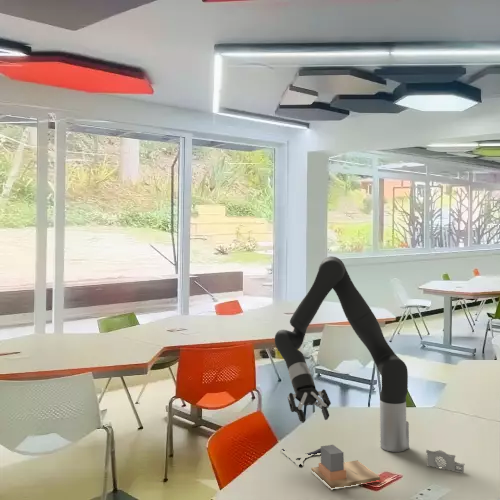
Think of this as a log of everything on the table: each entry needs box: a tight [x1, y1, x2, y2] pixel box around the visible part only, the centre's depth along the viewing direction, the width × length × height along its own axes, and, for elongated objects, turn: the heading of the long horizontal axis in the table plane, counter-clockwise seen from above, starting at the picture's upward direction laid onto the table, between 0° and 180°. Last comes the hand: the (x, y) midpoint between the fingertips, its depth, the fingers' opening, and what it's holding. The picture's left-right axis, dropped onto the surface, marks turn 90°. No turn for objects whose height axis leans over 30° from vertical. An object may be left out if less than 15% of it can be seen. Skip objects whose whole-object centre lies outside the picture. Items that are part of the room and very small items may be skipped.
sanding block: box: [318, 444, 346, 481], centre depth 175 cm, size 6×8×8 cm
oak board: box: [310, 459, 381, 488], centre depth 177 cm, size 17×14×2 cm
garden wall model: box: [425, 449, 466, 474], centre depth 182 cm, size 12×2×6 cm, turn 57°
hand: (315, 420), depth 186 cm, fingers open, 8 cm apart
